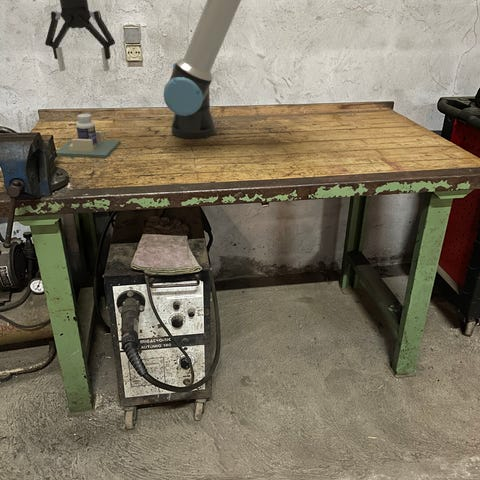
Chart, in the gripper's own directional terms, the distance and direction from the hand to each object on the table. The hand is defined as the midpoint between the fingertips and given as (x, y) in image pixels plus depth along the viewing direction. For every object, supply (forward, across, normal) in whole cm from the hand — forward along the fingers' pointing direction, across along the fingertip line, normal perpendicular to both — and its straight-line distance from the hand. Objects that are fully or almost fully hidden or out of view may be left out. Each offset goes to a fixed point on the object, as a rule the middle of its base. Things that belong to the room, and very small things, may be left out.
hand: (84, 70), depth 151 cm
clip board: (+22, 0, +7) cm, 24 cm away
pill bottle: (+22, 0, +7) cm, 23 cm away
